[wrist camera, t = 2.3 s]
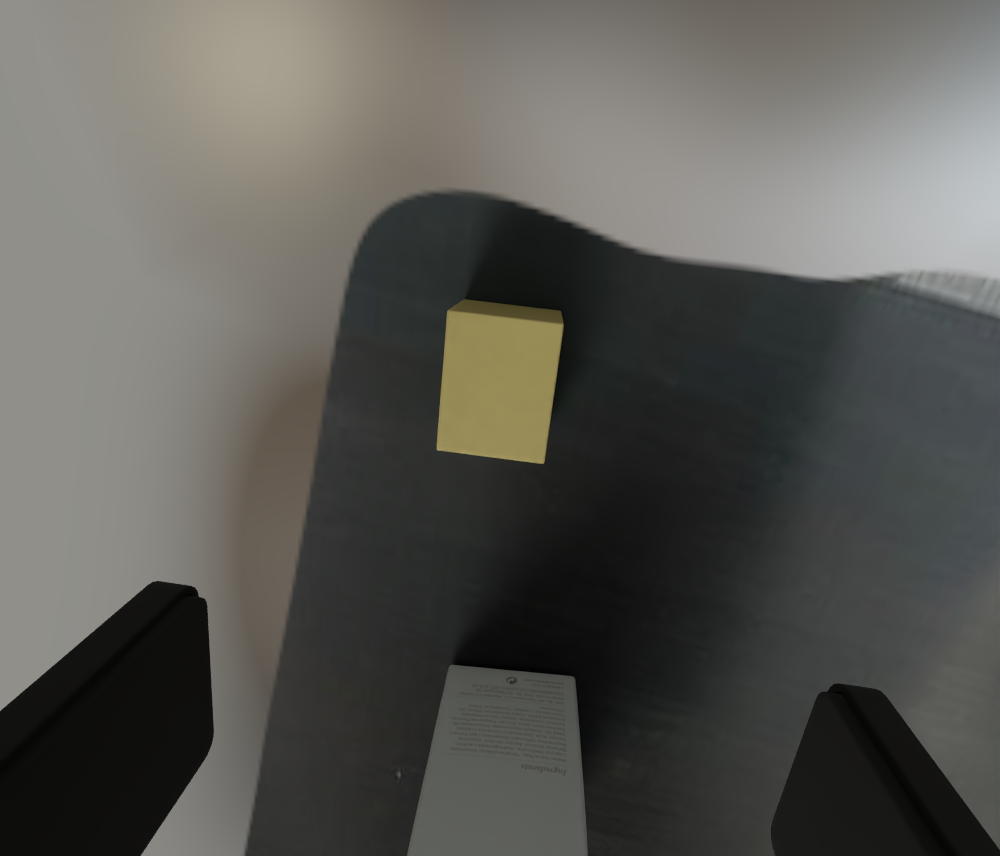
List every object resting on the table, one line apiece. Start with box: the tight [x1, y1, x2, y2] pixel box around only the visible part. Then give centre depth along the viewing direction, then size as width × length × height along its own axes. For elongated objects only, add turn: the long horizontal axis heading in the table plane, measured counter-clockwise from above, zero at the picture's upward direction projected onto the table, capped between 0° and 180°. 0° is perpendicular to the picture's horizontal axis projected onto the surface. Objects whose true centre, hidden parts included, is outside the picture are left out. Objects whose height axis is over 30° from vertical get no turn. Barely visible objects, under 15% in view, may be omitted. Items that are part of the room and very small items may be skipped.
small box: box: [407, 665, 588, 856], centre depth 21 cm, size 8×6×10 cm
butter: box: [437, 299, 564, 464], centre depth 20 cm, size 4×4×4 cm
